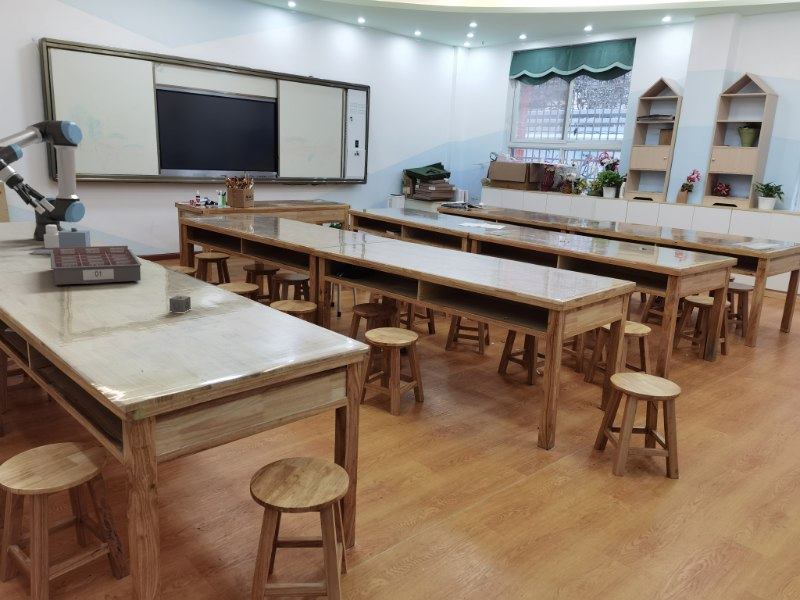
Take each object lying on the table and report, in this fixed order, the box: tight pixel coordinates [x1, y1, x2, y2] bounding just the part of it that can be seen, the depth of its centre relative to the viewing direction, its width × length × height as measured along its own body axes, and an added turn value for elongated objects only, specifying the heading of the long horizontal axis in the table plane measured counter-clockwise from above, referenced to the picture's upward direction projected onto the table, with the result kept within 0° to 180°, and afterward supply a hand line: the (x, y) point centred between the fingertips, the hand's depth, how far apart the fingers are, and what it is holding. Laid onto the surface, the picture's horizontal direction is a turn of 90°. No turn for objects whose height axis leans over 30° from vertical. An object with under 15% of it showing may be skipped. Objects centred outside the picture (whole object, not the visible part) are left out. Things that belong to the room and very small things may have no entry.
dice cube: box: [169, 295, 192, 312], centre depth 207 cm, size 5×5×5 cm
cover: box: [58, 227, 92, 247], centre depth 300 cm, size 8×12×13 cm, turn 102°
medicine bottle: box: [43, 224, 59, 249], centre depth 313 cm, size 7×7×12 cm
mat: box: [28, 249, 53, 256], centre depth 299 cm, size 12×10×1 cm
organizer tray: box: [49, 245, 143, 286], centre depth 253 cm, size 32×40×10 cm
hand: (48, 211), depth 294 cm, fingers open, 13 cm apart
